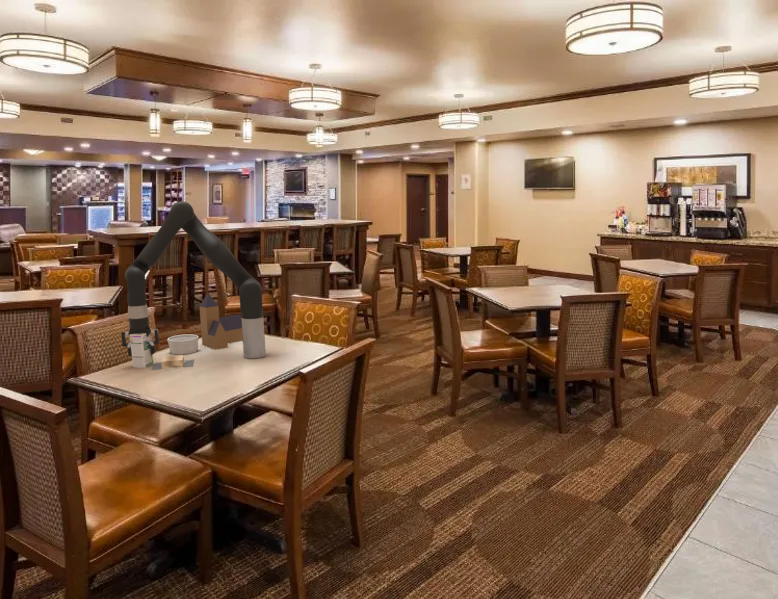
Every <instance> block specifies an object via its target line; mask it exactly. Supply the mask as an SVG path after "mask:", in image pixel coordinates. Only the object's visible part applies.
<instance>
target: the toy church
mask: <svg viewBox="0 0 778 599" xmlns="http://www.w3.org/2000/svg"><path fill="white" fill-rule="evenodd" d="M219 308H220V307H219V305H218V304H217V302H216V301H215V300H214V298H213V297H212V296H211V295H210V293H209V292H207V294H206V295H205V297H204V298H203V299H202V302H201V304H199V316H200V319H199V320H200V330H201V332H200V333H201V343H202V344H201V345H202V346H203V345H204V347H206V346H207V347H206V348H209V349H213V350H215V351H217V350H221V348H222V349H225V348H226V347H227V348H229V345H228V343H229V344H233V343H238V342H243V336H242V319H241V313H240V314H235V315H234V314H233V315H228V316H222V317H220V312H219V311H220V310H219ZM227 348H226V349H227ZM216 349H217V350H216Z"/></svg>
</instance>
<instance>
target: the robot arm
mask: <svg viewBox="0 0 778 599" xmlns="http://www.w3.org/2000/svg"><path fill="white" fill-rule="evenodd" d="M180 230H183V232H185V233H186V234H187V235H188V236H189V237H190V239H192V241H193V242H194V244H195V245H196V246H197V248H198V249H199V250H200V252H201V253H202V254H203V255H204V256H205V258H206V259H207V260H208V261H209V262H210V264H212V265H213V266H214V267H215V268H216V269H217V270H219V271H220V272H221V273H222V274H223V275H225V276H226V277H228V279H230V281H231V282H232V283H233V284H234V285H235V286H236V288H237V289H238V290H239V291H238V293H239V294H238V295H239V308H240V311H239V312H240V317H241V320H242V336H243V341H242V351H243V352H242V353H243V358H246V359H259V358H264V357H266V356H267V355H266V354H267V353H266V351H267V350H266V337H265V336H266V334H265V327H264V326H265V323H264V322H265V321H264V310H263V309H264V308H263V288H262V285H261V283H260V282H259V281H258V279H257V280H256V278H254V276H252V275H251V274H250V273H249V272H248V271H247V270H246V268H244V267H243V265H242V264H241V263H240V262H239V261H238V259H237V258H236V256H235V255H234V254H233V253H232V251H231V250H230V249H229V248H228V247H227V245H226V244H225V243H224V242H223V241H222V240H221V239H220V238H219V237H218V236H217V235H216V234H214V233H213V232H212V231H211V230H210V229H208V228H207V227H205V225H204V224H203V223H202V221H201V220H200V219H199V217H198V216H197V215H196V213H195V210H194V208H193V206H192V205H191V204H190V203H188V201H183V200H182V201H176V202H174V204H173V205H172V206H171V207H170V210H169V212H168V214H167V216H166V218H165V220H164V222H163V223H162V225H161V226H160V228H159V229H158V230H157V232H156V233H154V235H153V236H152V238H151V239H150V240H149V241H148V242H147V244H146V245H145V246H144V248H143V249H142V251H141V252H140V253H139V254H138V256H137V257H136V258H135V260H133V262H132V263H131V264H129V266H128V267H127V268H126V270H125V272H124V279H125V280H126V281H125V282H126V287H127V296H126V297H127V305H128V306H127V317H128V327H129V330H127V331H126V330H122V331H121V346H122V347H125V348H127V354H128V356H129V357H130V358H132V352H131V343H133V341H132V339H131V341H130V340H129V342H128V343H127V337H128V335H129V336H130V334H137V333H142V334H144V333H146V335H145V336H146V340H147V341H148V342H149V343H150V344H151V354H152V356H153V355H154V354H155V353H156V345H159V343H160V335H159V329H158V328H155V329H151V328H150V327H151V326H150V319H149V316H150V315H149V309H148V303H147V295H146V274H147V273H148V271H149V270H150V269H152V267H154V266H155V265H156V264H157V262H158V261H159V260H160V259H161V257H162V256H163V255H164V253H165V251H166V250H167V249H168V247H169V245H170V244H171V243H172V241H173V239H174V238H175V237H176V235H177V234H178V233H179V231H180ZM151 333H152V335H153V336H154V338H155V340H153V338H152V337H151V338H148V336H149V335H150V336H151Z"/></svg>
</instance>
